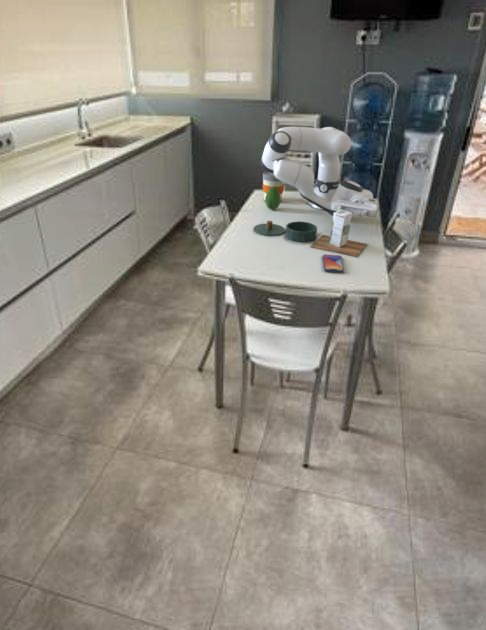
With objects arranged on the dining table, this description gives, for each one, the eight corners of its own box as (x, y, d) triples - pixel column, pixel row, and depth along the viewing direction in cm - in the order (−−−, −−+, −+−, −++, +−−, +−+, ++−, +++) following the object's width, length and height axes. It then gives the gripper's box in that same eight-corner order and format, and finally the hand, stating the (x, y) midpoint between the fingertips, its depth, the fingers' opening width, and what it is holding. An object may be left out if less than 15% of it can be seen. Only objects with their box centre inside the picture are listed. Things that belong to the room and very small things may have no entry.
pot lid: (261, 223, 217) (262, 214, 214) (289, 229, 211) (290, 219, 209) (247, 233, 206) (248, 223, 204) (277, 239, 200) (277, 229, 198)
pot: (292, 230, 210) (293, 219, 207) (319, 236, 205) (321, 225, 202) (280, 239, 200) (281, 228, 197) (309, 246, 194) (310, 234, 192)
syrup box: (335, 240, 198) (340, 208, 191) (347, 244, 195) (352, 212, 187) (328, 244, 195) (333, 211, 187) (340, 248, 191) (345, 215, 184)
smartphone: (341, 257, 184) (341, 255, 184) (343, 273, 172) (343, 270, 171) (322, 256, 185) (323, 254, 185) (323, 271, 172) (324, 269, 172)
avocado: (276, 206, 240) (277, 184, 234) (282, 211, 234) (283, 188, 228) (262, 207, 238) (263, 185, 232) (267, 212, 232) (269, 189, 225)
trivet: (322, 236, 205) (322, 234, 204) (366, 244, 196) (366, 243, 196) (311, 247, 193) (311, 245, 193) (357, 257, 185) (357, 255, 185)
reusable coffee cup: (268, 195, 256) (270, 169, 248) (288, 200, 250) (290, 172, 242) (256, 201, 247) (258, 173, 240) (276, 205, 241) (278, 177, 234)
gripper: (337, 194, 211) (328, 202, 201) (381, 202, 203) (374, 210, 193) (335, 208, 214) (326, 215, 204) (378, 215, 206) (371, 224, 196)
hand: (350, 213), depth 198 cm, fingers open, 8 cm apart
